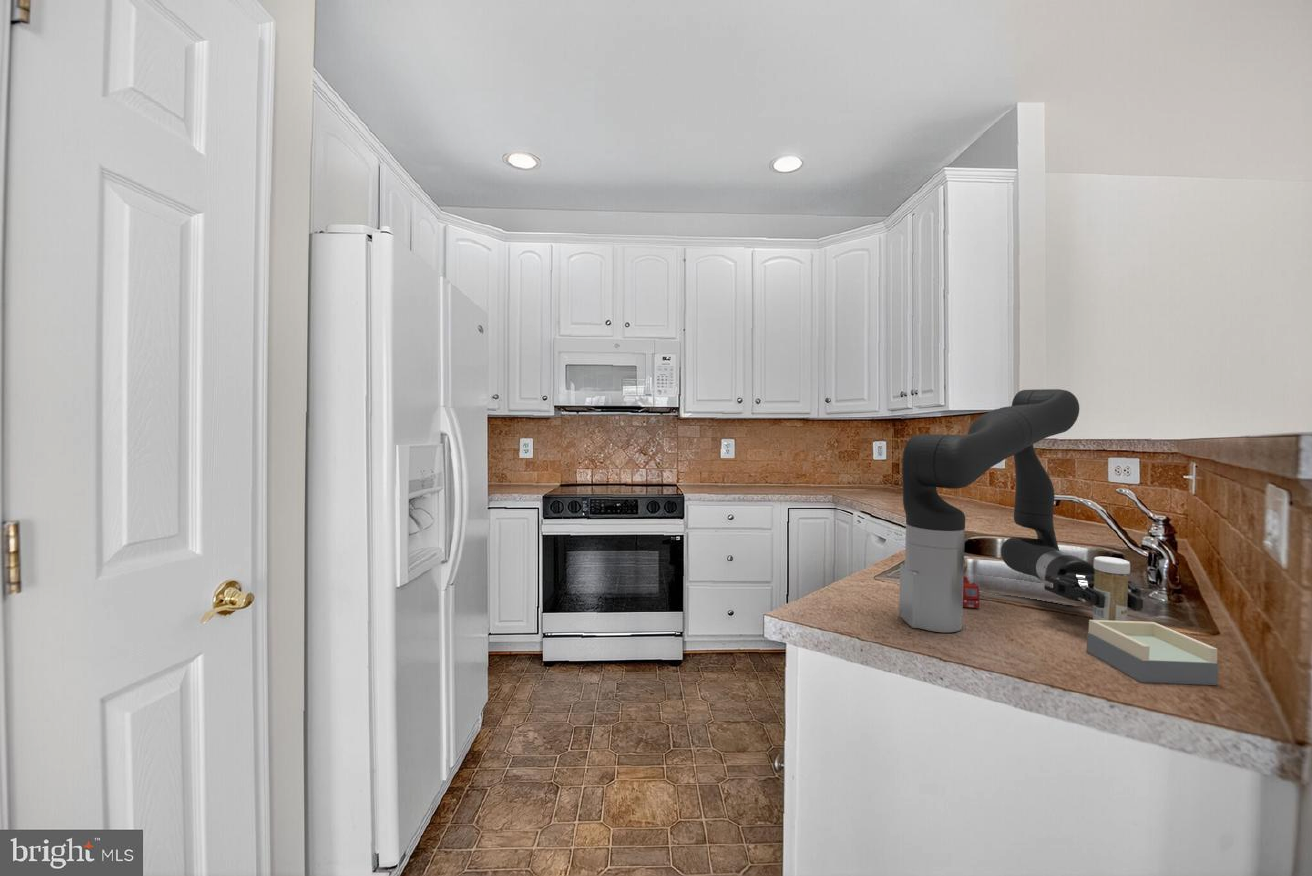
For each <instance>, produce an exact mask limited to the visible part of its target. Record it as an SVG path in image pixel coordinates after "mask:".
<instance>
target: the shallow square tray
mask: <svg viewBox="0 0 1312 876" xmlns="http://www.w3.org/2000/svg"><path fill="white" fill-rule="evenodd" d="M1218 651H1219V649H1218V648H1216V647H1215V646H1212V645H1209V644H1208V643H1204V642H1202V641H1200V640H1197V639H1195V638H1192V637H1190V636H1188V635H1186V634H1184V633H1181V632H1178V631H1176V630H1173V629H1171V628H1169V627H1167V626H1164V625H1162V624H1159V623H1157V622H1155V621H1136V620H1135V621H1134V620H1127V621H1112V620H1093V619H1089V620H1088V632H1087V634H1086V652H1087V654H1088V653H1089V654H1090V655H1092V656H1094V657H1095V658H1097V659H1099V660H1100V661H1102V662H1104V663H1106V664H1107V665H1110V666H1112V667H1114V668H1115V669H1116V670H1118V671H1120V672H1122V673H1123V674H1125V675H1127V676H1129V677H1130V678H1133V679H1134V680H1135V681H1138V682H1139V683H1149V684H1150V683H1152V684H1155V683H1156V684H1173V685H1174V684H1176V685H1177V684H1178V685H1179V684H1180V685H1202V686H1203V685H1204V686H1205V685H1206V686H1218V685H1219V684H1218V681H1219V680H1218V679H1219V663H1218Z"/></svg>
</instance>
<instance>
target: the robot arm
mask: <svg viewBox="0 0 1312 876" xmlns="http://www.w3.org/2000/svg"><path fill="white" fill-rule="evenodd" d="M1078 400H1079V399H1077V397H1076V395H1074V393H1072V392H1071V391H1069V390H1065V389H1058V388H1055V389H1054V388H1051V389H1050V388H1049V389H1048V388H1047V389H1045V388H1043V389H1041V388H1040V389H1022V390H1019V391H1018V392H1017V393H1016V394H1015V396H1014V397H1013V399H1012V403H1011V406H1003V407H1000V408H995V409H993V410H990V411H989V412H986V413H983V414H982V415H980V416H978V417H977V418H976V419H975V420H974V421H973V422H972V423H971V424H970V426H969V427H968V432H967V434H930V433H928V434H927V433H925V434H924V433H922V434H921V433H919V434H915V435H912V436H911V437H909V439H908V440H907V441H906V443H905V446H904V448H903V454H902V460H901V468H902V469H901V470H902V471H901V473H902V505H903V509H904V510H903V511H904V514H905V544H904V563H901V564H900V566H899V598H898V616H899V617H900V618H901V619H902V620H904V622H905V623H906V624H907V625H909V626H910V627H911V628H913V629H920V630H926V631H930V632H938V633H955V632H958V631H961V630H962V629H963V617H964V616H963V609H964V608H963V607H964V606H963V577H964V575H965V574H964V559H965V544H966V543H965V542H966V540H965V539H966V538H965V537H966V516H965V515H966V514H965V513H964V512H963V511H962V510H961V509H959V508H957V507H955V506H953V505H951V504H949V502H948V501H947V502H946V501H945V499H943V498H942V497H941V496H940V495H939V493H938V490H937V488H939V489H940V488H942V489H951V490H955V489H963V488H966V487H968V486H970V485H971V484H973V483H974V482H975V481H977V480H978V479H979V478H980V477H981V476H983V475H984V474H985V473H986V472H988V470H990V469H991V468H992V467H994V466H996V465H997V464H999V463H1001V462H1003V461H1005V460H1006V459H1008V458H1011V457H1013V459H1014V470H1015V471H1014V472H1015V493H1014V507H1013V521H1014V523H1015V524H1016V525H1018V526H1021V527H1023V528H1027V529H1031V530H1033V531H1035V533H1036V535H1037V538H1031V537H1021V536H1013V537H1009V538H1007V539H1006V540H1005V541H1003V543H1002V545H1001V547H1000V554H1001V558H1002V561H1003V562H1004V563H1005V564H1006V566H1007V567H1008V568H1010V569H1011V570H1013V571H1015V572H1018V573H1022V574H1025V575H1028V576H1032V577H1036V578H1037V579H1038V580H1040V581H1041V582H1043V583H1044V585H1043V586H1044V590H1045V591H1047V592H1050V593H1052V594H1055V595H1058V596H1060V597H1063V598H1065V599H1068V600H1071V601H1074V602H1084V603H1086V602H1087V603H1089V604H1090V605H1092V606H1093V605H1094V606H1096V607H1098V608H1104V606H1105V596H1104V595H1103V594H1102V593H1100V592H1098V591H1096V590H1094V581H1095V580H1094V577H1095V571H1094V563H1093V564H1092V563H1091V562H1089V561H1086V560H1084V559H1082V558H1080V557H1078V556H1076V555H1073V554H1072V553H1068V552H1064V551H1063V550H1060V547H1059V544H1058V540H1057V538H1056V532H1055V526H1054V508H1055V498H1056V497H1055V489H1054V484H1053V483H1052V480H1051V477H1050V476H1049V474H1048V473H1047V471H1046V469H1045V467H1044V466H1043V465H1042V463H1041V461H1040V459H1039V457H1038V455H1037V452H1036V451H1035V448H1034V444H1036V443H1038V442H1040V441H1042V440H1044V439H1046V438H1049V437H1052V436H1056V435H1059V434H1062V433H1065V432H1067V431H1069V430H1070V429H1071V428H1072V427H1073V426H1074V425H1075V423H1076V421H1077V419H1078V417H1079V415H1080V403H1079V401H1078ZM1127 608H1129V609H1130V610H1132V611H1134V612H1141V611H1142V609H1144V598H1143V597H1142V589H1141V588H1140V587H1139V586H1138V585H1137V584H1136V583H1135V582H1133V581H1131V580H1128V607H1127Z"/></svg>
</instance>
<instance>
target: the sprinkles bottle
mask: <svg viewBox="0 0 1312 876" xmlns="http://www.w3.org/2000/svg"><path fill="white" fill-rule="evenodd" d="M1093 565H1094V571H1095V577H1094V580H1095V581H1094V590H1096V591H1098V592H1100V593H1102V594H1103V595H1104V596H1105V606H1104V608H1098V607H1096V606H1094V605H1093V604H1092V620H1112V621H1128V608H1129V607H1128V581H1129V577H1130V573H1131V562H1130V561H1128V560H1125V559H1123V558H1118V557H1112V556H1096V557H1094V559H1093Z"/></svg>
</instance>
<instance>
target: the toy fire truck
mask: <svg viewBox="0 0 1312 876" xmlns="http://www.w3.org/2000/svg"><path fill="white" fill-rule="evenodd" d="M967 570H968V563H967V560H966V559H965V558H964V575H965V574H966V572H967ZM963 607H965V608H973V609H978V608H980V589H979V585H977V584H976V583H975V581H974V582H972V583H970V582H969V579H968V577H967V576H964V577H963Z"/></svg>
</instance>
